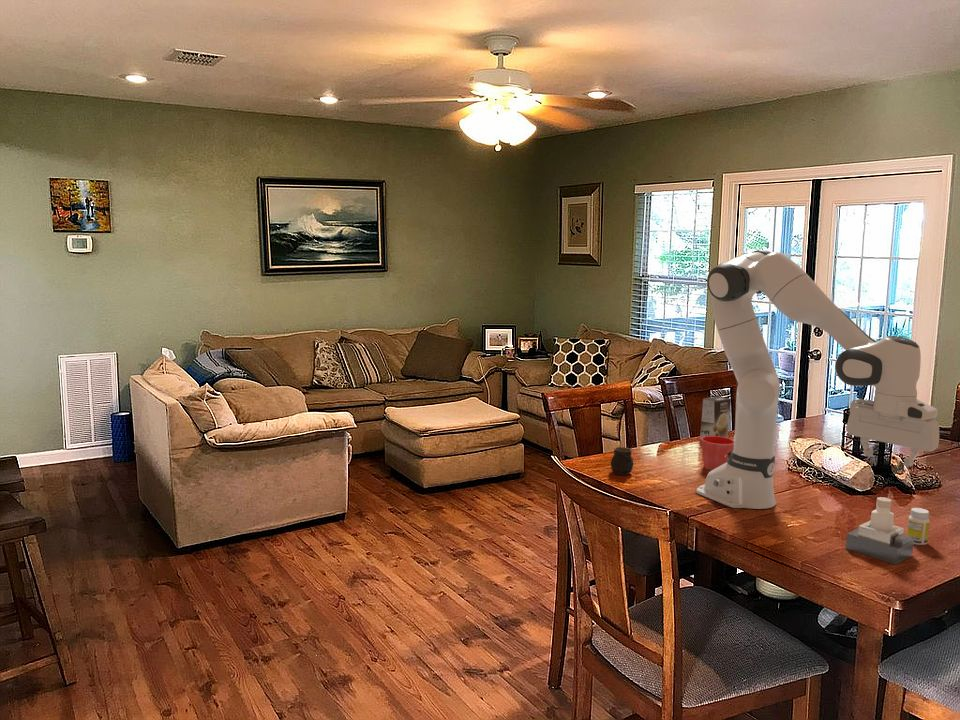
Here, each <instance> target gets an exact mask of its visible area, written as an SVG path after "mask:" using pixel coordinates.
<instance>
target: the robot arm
mask: <svg viewBox="0 0 960 720" xmlns="http://www.w3.org/2000/svg"><path fill="white" fill-rule="evenodd" d="M706 279H707V281H706V284H707V290H708V291H709V292H710V293H709V294H711V300H710V301H711V302H710V303H711V310H712V315H713V319H714V322H715V327H716V329H717V333H718V335H719V338H720V341H721V345H722V347H723V350H724V355H725V356H726V358H727V360H728V362H729V364H730V367H731V370H732V372H733V374H734V376H735V379H736V382H737V387H736V402H735V420H734V421H735V424H734V437H733V440H734V449H733V451H730V452H729V453H726V454H727V455H726V454H725V455H726V456H725V457H728V460H727V462H726V463H724V464H722V465H721V466H719V467H717V468H715V469H714V470H709V472H708V473H707V475H706V478H705V481H704V484H701V485H700V486H698V487H697V488H696V491H695V493H696V494H698V495H700V496H703V497H705V498H707V499H710V500H712V501H715V502H718V503H720V504H722V505H724V506H727V507H730V508H733V509H743V508H744V509H752V510H754V509H755V510H756V509H757V510H762V509H763V510H764V509H766V510H767V509H770V508H774V507H775V506H776V498H775V492H774V474H775V467H776V466H775V464H776V455H775V444H776V433H777V419H778V408H779V407H778V406H779V397H780V396H779V395H780V386H781V385H780V383H781V382H780V380H779V375H778V373H777V370H776V368H775V365H774V363H773V360H772V357H771V354H770V352H769V350H768V347H767V344H766V342H765V339H764V337H763V334H762V329H761V327H760V324H759V321H758V318H757V316H756V313H755V309H754V308H753V304H752V303H753V302H752V300H753V298H754V295H755V294H759V295H760V294H762V293H763V294H764V295H765V296H766V297H767V298H768V299H769V301H770V303H772V304H773V305H774V307H775V308H776V309H777V310H778V311H779V312H780V313H782V314H783V315H784V316H785V317H787V318H788V319H790V320H791V321H794V322H796V323H802V324H807V325H809V326H813V327H816V328H819V329H821V330H822V331H824V332H826V333H827V334H828V335H829V336H830V338H832V339H833V340H834V341H836V343H838V345H839V346H841V347H842V349H844V351H842V352H841V353H839V355H838V357H837V358H836V361H835V364H834V365H835V366H834V369H835V372H836V375H837V377H838V379H840V381H842V382H843V383H844V384H846V385H848V386H853V387H865V386H873V387H874V388H875V393H874V400H871V399H870V400H869V399H863V398H856V399H853V400H852V401H851V402H850V404H849V415H848V418H847V419H848V420H847V423H846V429H845V430H846V432H847V434H848V435H849V436H853V437H858V438H860V439H859V441H860V444H861V446H862V448H863V456H864V457H868V458H871V457H873V456H874V448H871V447H870V444H869V442H870V441H871V440H872V441H877V442H881V443H885V444H890V445H895V446H900V447H904V448H909V449H910V453H911V455H910V456H907V457H904V460H903V461H904V462H903V466H905V467H913V466H914V462H915V459H916V458H917V457H918V456H919V454H920V453H921V451H923V452H929V453H930V452H933V451H935V450H936V449H938V447H939V443H940V425H939V422H938V421H937V419H936V417H938V415H939V413H938V412H939V411H938V409H937V408H936V407H934V406H933V405H930V404H928V403H925V402H923V401H921V400H920V399H918V398H917V397H918V391H917V383H918V381H919V379H920V376H921V375H920V374H921V373H920V372H921V363H922V362H921V360H922V359H921V358H922V357H921V348H920V345H919V344H918V343H917V342H916V341H914V340H912V339H910V338H906V337H902V336H895V335H887V336H885V337H883V338H882V339H879V340H878V341H877V340H875V339H874V338H872V337H870V336H869V335H868V334H867V333H866V332H865V331H864V330H862V328H860V326H859V325H857V324H856V323H855V321H854V320H852V319H851V318H850V317H849V316H848V315H847V314H846V313H844V311H843V310H841V308H839V307H838V306H837V305H836V304H835V303H834V301H832V300H831V299H830V298H829V297H828V295H827V294H826V293H825V292H824V291H823V290H822V289H821V287H819V285H817V284H816V282H815V281H814V280H813V279H812V278H811V277H810V275H808V273H807V272H806V271H805V270H803V268H801V267H800V265H798V264H797V263H796V262H795V261H793V260H792V259H790V257H788V256H786V255H785V254H783V253H782V252H777V251H775V252H771V251H768V250H754V251H752V252H750V253H749V252H748V253H744V254H740V255H738V256H735V257H734V258H732V259H730V260H727V261H725V262H721V263H719V264H717V265H716V266H714V267H713V268H712V269H711V270H710V271H709V272H708V275H707V278H706Z"/></svg>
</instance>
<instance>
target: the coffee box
mask: <svg viewBox="0 0 960 720" xmlns="http://www.w3.org/2000/svg"><path fill="white" fill-rule="evenodd" d="M731 400H732V399H731V398H729V397H723V396H712V397H711V396H709V397H704V398H702V409H701V424H700V435H699V436H700V437H699V440H700V441H701V438H702V437H706V436H719V437H725V438H729V427H730V416H731V414H730V413H731V402H732V401H731Z"/></svg>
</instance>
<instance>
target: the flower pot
mask: <svg viewBox="0 0 960 720" xmlns="http://www.w3.org/2000/svg"><path fill="white" fill-rule="evenodd" d="M700 441H701V452H702V462H703V463H702V465H703V467H704V468H705V469H706V470H707V471H712V470H714V469H715V468H717V467H719V466H721V465H722V464H724V463H726V462H727V460H728V457H725V456H726V455H727V454H726V453H729V452H730V451H733V449H734V439H731V438H729V437H728V438H725V437H719V436H706V437H702V438H701V440H700ZM725 454H726V455H725Z"/></svg>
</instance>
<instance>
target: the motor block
mask: <svg viewBox="0 0 960 720" xmlns="http://www.w3.org/2000/svg"><path fill="white" fill-rule="evenodd" d="M870 522H871V519H870V520H868V521H866V522H863V523H861V524H860V525H858V528H855V529H854V530H850V531H849V532H847V534H846V540H845V541H846V544H845V549H846V550H848V551H851V552H855V553H857V554H861V555H864V556H867V557H871V558H873V559H876V560H880V561H883V562H886V563H889V564H892V565H894V566H895V565H896V566H897V565H898V564H900V563H902V562H904V561H905V560H907V559H909V558H910V557H912V556H913V551H914V544H913V543H914V540H912V539H910V536H908V535H907V534H904V531H905V528H904V527H901V526H898V525H894V524H893V529H892V531H891V532H889V533H887V532H883V531H880V530H876V529H873V528H870Z"/></svg>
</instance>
